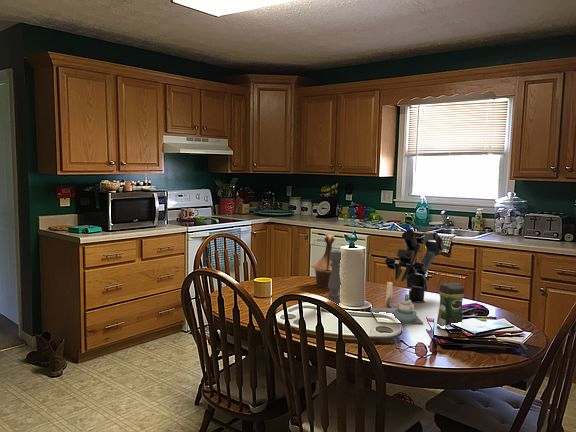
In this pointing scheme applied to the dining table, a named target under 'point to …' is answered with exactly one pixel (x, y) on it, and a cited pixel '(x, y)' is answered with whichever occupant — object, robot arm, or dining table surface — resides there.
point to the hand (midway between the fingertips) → (398, 280)
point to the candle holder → (334, 277)
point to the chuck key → (402, 306)
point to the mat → (393, 313)
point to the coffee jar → (450, 303)
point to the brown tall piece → (324, 264)
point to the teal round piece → (405, 316)
